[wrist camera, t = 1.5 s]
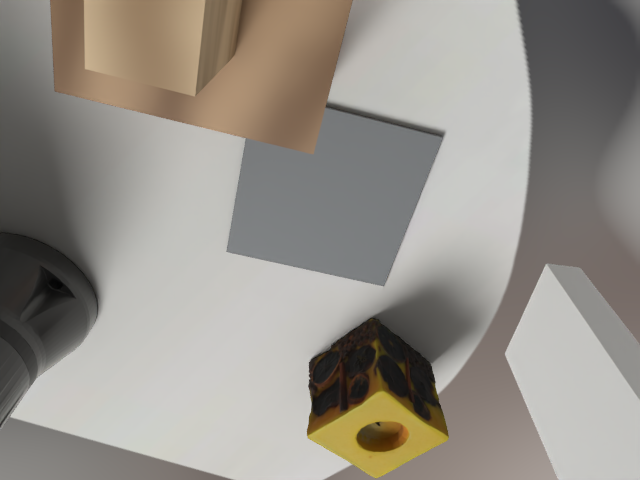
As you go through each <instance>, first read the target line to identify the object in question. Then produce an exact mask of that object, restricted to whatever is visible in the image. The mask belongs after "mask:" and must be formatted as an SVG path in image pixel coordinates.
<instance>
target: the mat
mask: <svg viewBox="0 0 640 480" xmlns="http://www.w3.org/2000/svg"><path fill="white" fill-rule="evenodd" d="M442 139H443V137H442V136H439V135H435V134H431V133H427V132H424V131H420V130H416V129H412V128H408V127H404V126H400V125H396V124H392V123H388V122H384V121H381V120H377V119H373V118H369V117H365V116H361V115H357V114H353V113H349V112H345V111H341V110H338V109H334V108H330V107H325V111H324V115H323V119H322V123H321V127H320V131H319V135H318V139H317V143H316V146H315V150H314V154H309V153H305V152H301V151H297V150H293V149H289V148H285V147H280V146H276V145H272V144H268V143H264V142H260V141H256V140H252V139H248V138H246V141H245V147H244V153H243V158H242V164H241V170H240V176H239V182H238V188H237V193H236V199H235V205H234V211H233V217H232V223H231V229H230V234H229V240H228V246H227V252H229V253H234V254H238V255H243V256H248V257H252V258H257V259H261V260H266V261H270V262H275V263H280V264H284V265H289V266H293V267H298V268H303V269H307V270H312V271H316V272H321V273H325V274H330V275H335V276H339V277H344V278H348V279H353V280H357V281H362V282H367V283H371V284H376V285H380V286H384V284H385V282H386V279H387V277H388V274H389V272H390V269H391V267H392V264H393V262H394V259H395V257H396V254H397V252H398V249H399V246H400V244H401V241H402V239H403V236H404V234H405V231H406V229H407V226H408V224H409V221H410V219H411V216H412V214H413V211H414V209H415V206H416V204H417V201H418V199H419V196H420V194H421V191H422V189H423V186H424V184H425V181H426V179H427V176H428V174H429V171H430V169H431V166H432V164H433V161H434V159H435V156H436V154H437V151H438V149H439V146H440V144H441V141H442Z"/></svg>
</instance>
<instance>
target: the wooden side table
mask: <svg viewBox="0 0 640 480" xmlns="http://www.w3.org/2000/svg"><path fill="white" fill-rule="evenodd" d="M352 1H353V0H50V4H51V25H52V46H53V67H54V88H55V92H59V93H64V94H68V95H72V96H76V97H80V98H84V99H88V100H92V101H96V102H100V103H104V104H109V105H113V106H117V107H121V108H125V109H129V110H133V111H137V112H141V113H145V114H149V115H154V116H158V117H162V118H166V119H170V120H174V121H178V122H182V123H186V124H190V125H195V126H199V127H203V128H207V129H211V130H215V131H219V132H223V133H227V134H231V135H235V136H240V137H244V138H248V139H252V140H256V141H260V142H264V143H268V144H272V145H276V146H280V147H285V148H289V149H293V150H297V151H301V152H305V153H309V154H314V150H315V146H316V143H317V139H318V135H319V131H320V127H321V123H322V119H323V115H324V111H325V107H326V103H327V99H328V95H329V91H330V87H331V84H332V80H333V76H334V72H335V68H336V64H337V60H338V56H339V52H340V48H341V44H342V40H343V36H344V32H345V28H346V24H347V21H348V17H349V13H350V9H351V5H352Z"/></svg>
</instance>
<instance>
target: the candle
mask: <svg viewBox="0 0 640 480" xmlns="http://www.w3.org/2000/svg"><path fill="white" fill-rule="evenodd" d="M309 373H310V374H309V377H310V380H309V385H308V387H309V390H310V396H311V402H312V407H311V413H310V416H309V425H308V429H307V436H308V438H309V439H310V440H312V441H314V442H316V443H317V444H319V445H321V446H323V447H324V448H326V449H328V450H329V451H331V452H333V453H335V454H336V455H338V456H340V457H342V458H343V459H345V460H347V461H348V462H350V463H351V464H353V465H355V466H356V467H358V468H359V469H361V470H362V471H364V472H365V473H367V474H369V475H371V476H373V477H374V478H378V477H380V476H383V475H384V474H386V473H388V472H389V471H391V470H394V469H395V468H397V467H399V466H400V465H402V464H404V463H406V462H408V461H410V460H411V459H413V458H415V457H417V456H419V455H420V454H422V453H424V452H427V451H429V450H430V449H432V448H434V447H436V446H438V445H440V444H441V443H443V442H445V441H447V440H448V438H449V436H448V430H447V426H446V422H445V419H444V415H443V412H442V409H441V405H440V404H439V398H438V395H437V392H436V388H435V378H434V374H433V371H432V366H431V365H430V363H429V362H428V361H427V360H426V359H425V358H423V357H421V355H420V353H418V352H417V351H414V350H413V348H411V347H410V346H409V345H408V344H406V343H405V342H404V341H403V340H401V339H400V337H398V336H396V335H395V334H393V333H392V332H391V331H390V330H389V329H388V328H386V327H385V326H384V325H382V324H381V323H380V322H379V320H376V319H372V318H371V319H370V320H368V321H367V322H365V323H364V324H362V325H361V326H360V327H358V328H357V329H356V330H353V331H352V332H350V333H349V334H347V335H346V336H345V337H344V338H342V339H340V340H338V341H337V342H336V343H335V345H332V346H331V350H330V351H328V352H326V353H324V354H322V355H320V356H318V357H316V358H315V359H312V361H310V362H309Z"/></svg>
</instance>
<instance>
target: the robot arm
mask: <svg viewBox="0 0 640 480" xmlns="http://www.w3.org/2000/svg"><path fill="white" fill-rule="evenodd" d="M96 317H97V301H96V297H95V294H94V291H93V289H92V287H91V285H90V283H89V282H88V280H87V279H86V277H85V276H84V275H83V273H82V272H81V271H80V270H79V269H78V268H77V267H76V266H75V265H74V264H73V263H72V262H71V261H70V260H69V259H67V258H66V257H65V256H64V255H62V254H61V253H59V252H58V251H56V250H54V249H53V248H51V247H49V246H47V245H45V244H43V243H41V242H38V241H36V240H33V239H30V238H27V237H24V236H20V235H15V234H8V233H0V430H1V428H2V427H3V425H4V424H5V423H6V421H7V420H8V418H9V417H10V416H11V414H12V413H13V411H14V410H15V408H16V407H17V405H18V404H19V402H20V401H21V400H22V398H23V397H24V395H25V394H26V392H27V391H28V389H29V388H30V386H31V385H32V384H33V382H34V381H35V379H36V378H37V377H38V376H40V375H41V374H43V373H44V372H45V371H47V370H48V369H49V368H51V367H52V366H54V365H55V364H56V363H58V362H59V361H60V360H61V359H63V358H64V357H65V356H67V355H68V354H70V353H71V352H73V351H74V350H75V349H76V348H77V347H79V345H80V344H81V343H82V342H83V341H84V339H85V338H86V336H87V335H88V333H89V332H90V330H91V329H92V327H93V325H94V323H95V321H96ZM505 356H506V358H507V360H508V363H509V365H510V367H511V370H512V372H513V374H514V377H515V379H516V382H517V384H518V386H519V389H520V391H521V393H522V396H523V398H524V400H525V403H526V405H527V407H528V410H529V412H530V414H531V417H532V419H533V421H534V424H535V426H536V429H537V431H538V433H539V436H540V438H541V440H542V443H543V445H544V447H545V450H546V452H547V454H548V456H549V459H550V461H551V464H552V466H553V468H554V471H555V473H556V475H557V478H558V480H640V344H639V343H638V341H637V340H636V339H635V338H634V336H633V335H632V334H631V332H630V331H629V330H628V329H627V327H626V326H625V325H624V324H623V322H622V321H621V320H620V318H619V317H618V316H617V315H616V313H615V312H614V311H613V310H612V308H611V307H610V306H609V304H608V303H607V302H606V301H605V299H604V298H603V297H602V295H601V294H600V293H599V291H598V290H597V289H596V288H595V286H594V285H593V284H592V283H591V281H590V280H589V279H588V277H587V276H586V275H585V274H584V272H583V271H582V270H581V269H580V268H577V267H570V266H561V265H553V264H546V265H545V268H544V270H543V272H542V275H541V276H540V279H539V281H538V283H537V285H536V287H535V290H534V292H533V294H532V296H531V298H530V300H529V302H528V305H527V307H526V309H525V312H524V313H523V316H522V318H521V320H520V322H519V324H518V326H517V328H516V331H515V333H514V335H513V337H512V339H511V342H510V344H509V346H508V348H507V350H506V353H505Z"/></svg>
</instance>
